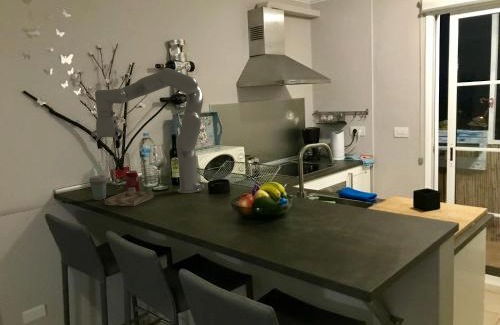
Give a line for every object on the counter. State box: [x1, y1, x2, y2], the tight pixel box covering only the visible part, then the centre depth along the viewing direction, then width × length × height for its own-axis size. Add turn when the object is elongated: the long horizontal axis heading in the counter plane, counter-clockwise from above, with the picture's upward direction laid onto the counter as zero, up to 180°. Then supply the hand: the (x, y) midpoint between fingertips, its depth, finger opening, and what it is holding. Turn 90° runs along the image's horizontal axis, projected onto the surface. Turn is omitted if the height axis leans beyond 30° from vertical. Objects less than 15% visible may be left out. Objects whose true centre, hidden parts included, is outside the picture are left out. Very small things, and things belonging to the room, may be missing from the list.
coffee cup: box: [88, 174, 107, 201], centre depth 216 cm, size 8×8×12 cm
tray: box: [103, 191, 155, 207], centre depth 208 cm, size 17×17×3 cm
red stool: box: [124, 170, 141, 192], centre depth 226 cm, size 7×7×12 cm
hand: (109, 148), depth 212 cm, fingers open, 9 cm apart
